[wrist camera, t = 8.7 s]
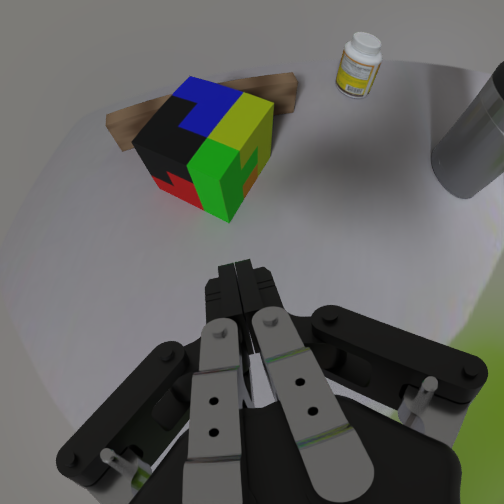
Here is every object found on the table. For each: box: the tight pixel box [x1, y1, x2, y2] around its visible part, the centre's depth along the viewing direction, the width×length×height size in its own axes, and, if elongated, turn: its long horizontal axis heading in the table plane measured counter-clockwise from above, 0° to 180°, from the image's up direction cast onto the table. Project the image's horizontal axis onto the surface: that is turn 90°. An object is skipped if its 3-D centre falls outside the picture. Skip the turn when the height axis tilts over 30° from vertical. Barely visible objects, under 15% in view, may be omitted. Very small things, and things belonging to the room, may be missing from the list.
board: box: [106, 72, 298, 152], centre depth 35 cm, size 24×2×6 cm, turn 103°
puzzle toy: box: [131, 76, 274, 223], centre depth 31 cm, size 10×10×10 cm
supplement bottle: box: [336, 32, 382, 98], centre depth 35 cm, size 6×6×10 cm
